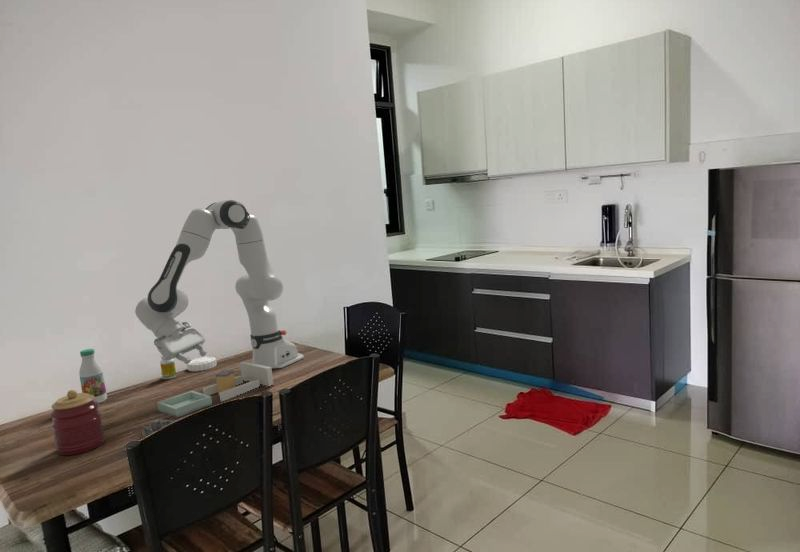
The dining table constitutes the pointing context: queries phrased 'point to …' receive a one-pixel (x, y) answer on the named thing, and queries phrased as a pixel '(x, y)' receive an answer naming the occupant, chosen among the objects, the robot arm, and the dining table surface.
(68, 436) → the canister
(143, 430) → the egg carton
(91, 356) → the milk bottle
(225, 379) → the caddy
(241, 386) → the dock
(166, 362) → the supplement bottle
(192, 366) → the mooncake
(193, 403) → the tray
